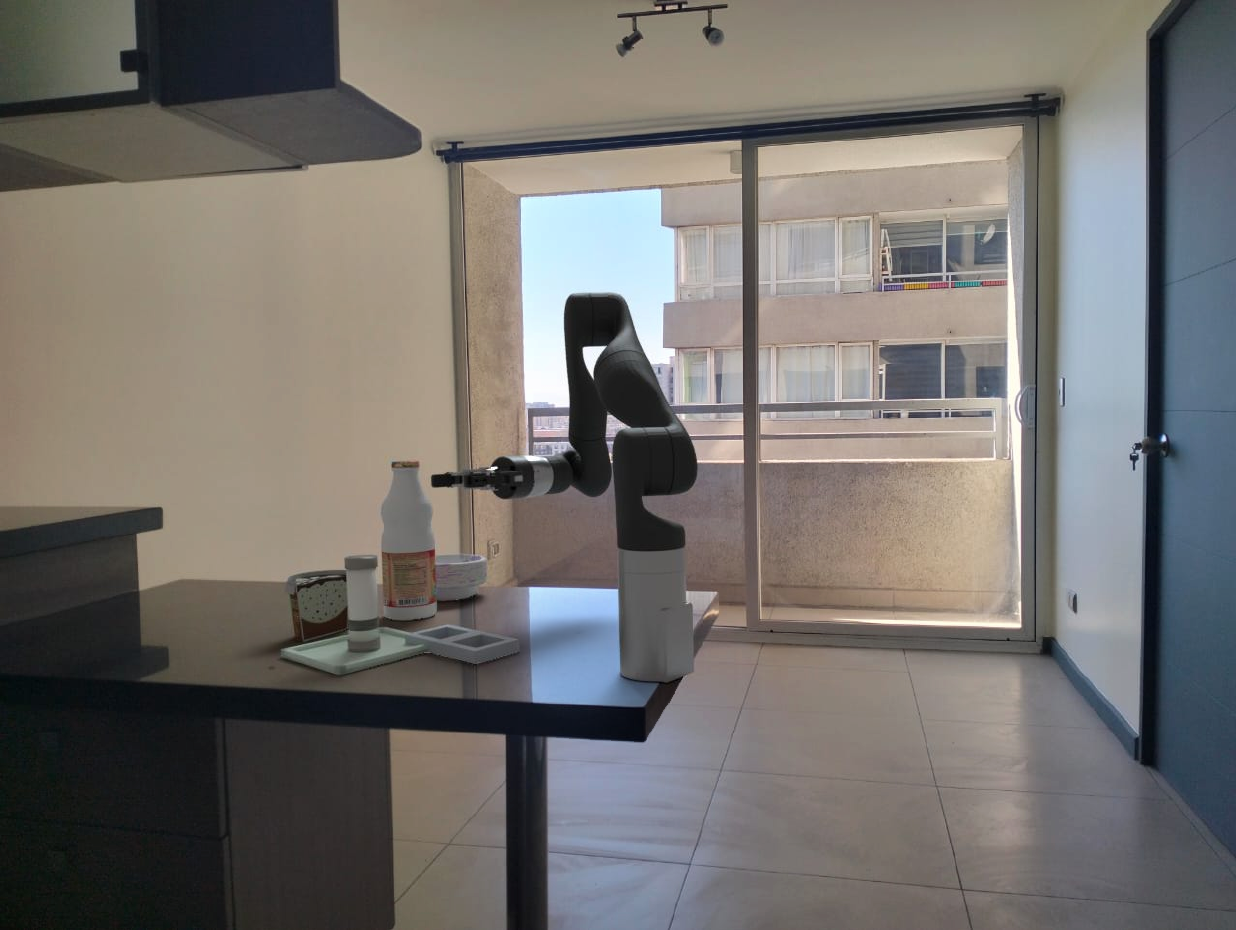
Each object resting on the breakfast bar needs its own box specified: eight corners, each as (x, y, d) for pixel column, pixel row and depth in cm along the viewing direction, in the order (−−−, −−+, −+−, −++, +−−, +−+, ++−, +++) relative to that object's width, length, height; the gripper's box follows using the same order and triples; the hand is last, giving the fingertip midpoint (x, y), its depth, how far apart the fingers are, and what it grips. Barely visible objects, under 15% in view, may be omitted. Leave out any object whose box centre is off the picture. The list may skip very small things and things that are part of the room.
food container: (330, 624, 153) (327, 567, 153) (354, 627, 150) (352, 569, 150) (270, 639, 143) (267, 578, 142) (295, 644, 140) (292, 581, 139)
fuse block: (519, 652, 131) (518, 639, 131) (475, 665, 125) (474, 651, 125) (448, 636, 142) (448, 624, 142) (405, 647, 136) (404, 634, 136)
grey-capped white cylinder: (387, 647, 134) (383, 556, 133) (359, 654, 130) (355, 560, 129) (369, 643, 137) (365, 553, 136) (341, 649, 133) (338, 557, 132)
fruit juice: (372, 617, 158) (367, 462, 157) (414, 608, 165) (409, 459, 164) (406, 623, 152) (400, 462, 151) (448, 613, 160) (443, 460, 158)
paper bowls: (501, 592, 180) (500, 553, 179) (462, 607, 166) (460, 565, 165) (437, 588, 185) (436, 551, 185) (394, 602, 171) (393, 562, 171)
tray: (444, 648, 135) (444, 640, 135) (339, 675, 121) (339, 667, 121) (384, 633, 145) (383, 626, 145) (281, 657, 132) (281, 649, 132)
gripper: (494, 456, 160) (420, 458, 148) (549, 454, 151) (476, 457, 138) (495, 497, 160) (422, 503, 148) (550, 498, 151) (477, 505, 138)
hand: (448, 481), depth 143 cm, fingers open, 8 cm apart
